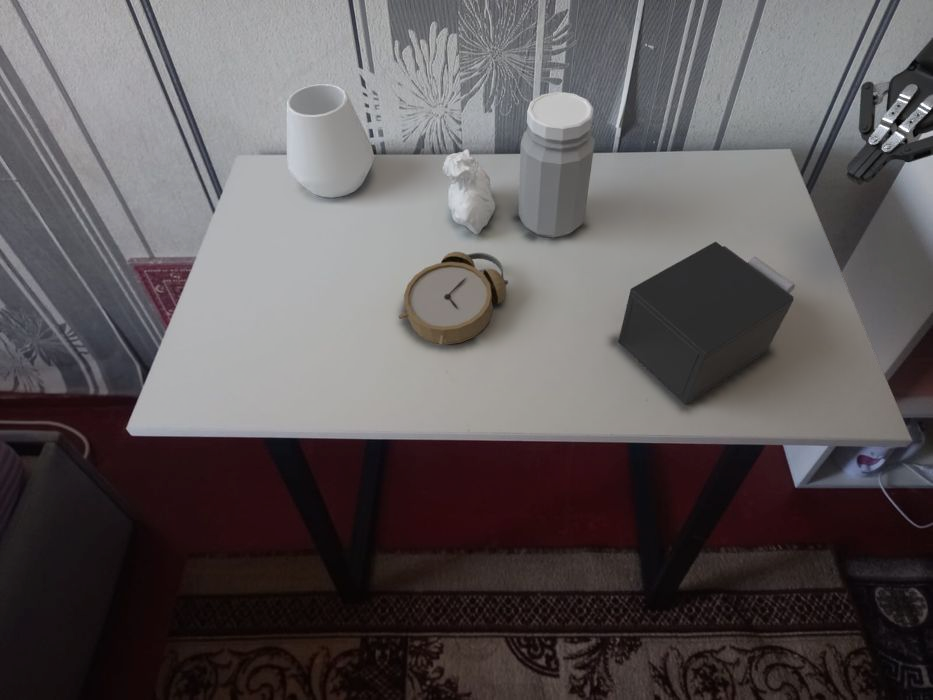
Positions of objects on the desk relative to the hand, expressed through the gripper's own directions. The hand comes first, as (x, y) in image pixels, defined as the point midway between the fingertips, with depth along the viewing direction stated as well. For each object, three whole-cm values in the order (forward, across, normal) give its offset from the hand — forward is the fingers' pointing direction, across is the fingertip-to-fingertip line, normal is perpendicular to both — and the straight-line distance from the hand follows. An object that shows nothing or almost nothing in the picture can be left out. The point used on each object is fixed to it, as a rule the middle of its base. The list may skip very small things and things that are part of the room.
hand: (852, 179), depth 75 cm
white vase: (+41, +57, +18) cm, 72 cm away
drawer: (+22, 0, +1) cm, 22 cm away
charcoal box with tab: (+26, 0, +3) cm, 26 cm away
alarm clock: (+40, +23, +17) cm, 49 cm away
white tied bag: (+32, +37, +9) cm, 49 cm away
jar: (+25, +29, +2) cm, 39 cm away
